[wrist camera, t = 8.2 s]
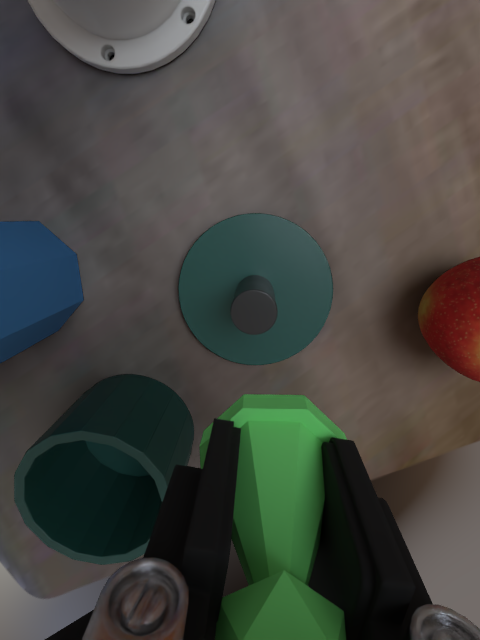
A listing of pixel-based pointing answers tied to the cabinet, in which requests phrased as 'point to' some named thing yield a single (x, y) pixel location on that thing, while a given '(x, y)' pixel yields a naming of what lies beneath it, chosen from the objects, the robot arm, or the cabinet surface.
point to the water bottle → (34, 285)
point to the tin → (105, 469)
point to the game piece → (278, 521)
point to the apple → (454, 318)
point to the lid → (255, 289)
